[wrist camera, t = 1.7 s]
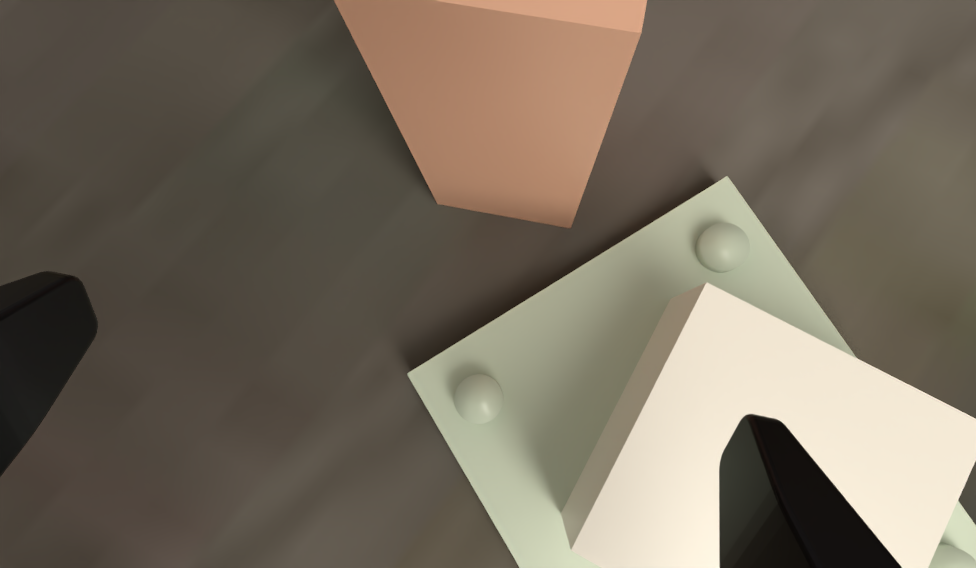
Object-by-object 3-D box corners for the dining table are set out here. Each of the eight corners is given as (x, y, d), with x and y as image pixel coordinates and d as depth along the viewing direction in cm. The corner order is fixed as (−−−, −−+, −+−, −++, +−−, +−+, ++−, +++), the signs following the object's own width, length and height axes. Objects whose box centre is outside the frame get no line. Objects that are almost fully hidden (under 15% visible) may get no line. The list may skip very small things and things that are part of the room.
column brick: (570, 228, 22) (641, 33, 9) (437, 203, 22) (325, -17, 10) (594, 100, 23) (693, -251, 10) (464, 78, 23) (394, -287, 10)
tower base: (1001, 586, 20) (1164, 660, 15) (664, 805, 19) (714, 957, 14) (717, 184, 22) (775, 131, 17) (412, 373, 22) (379, 375, 17)
